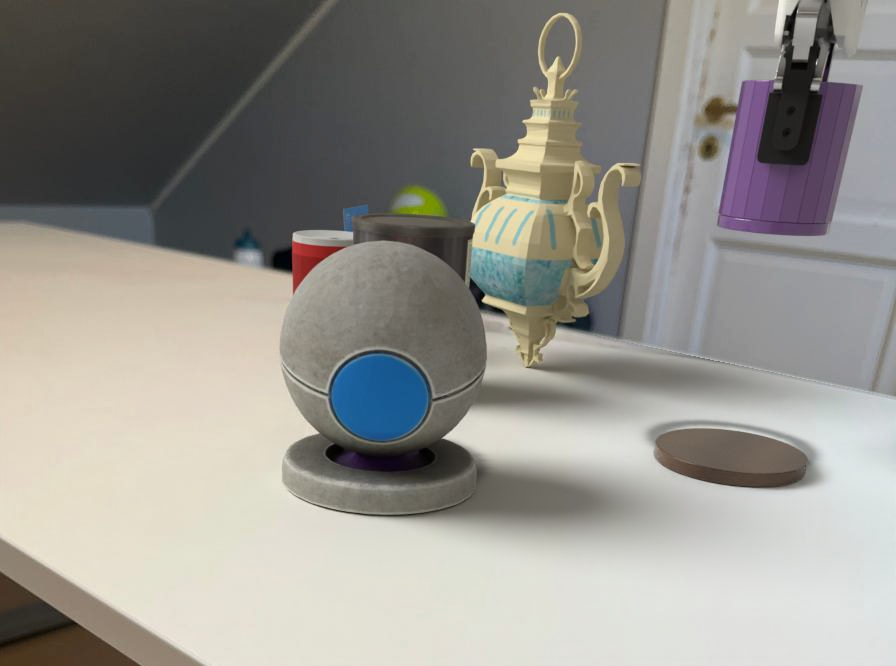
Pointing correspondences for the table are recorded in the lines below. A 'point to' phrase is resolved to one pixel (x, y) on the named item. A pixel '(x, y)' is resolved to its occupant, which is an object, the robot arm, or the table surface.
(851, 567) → the table surface
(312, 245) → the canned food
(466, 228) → the coffee can
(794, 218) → the cup
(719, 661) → the table surface
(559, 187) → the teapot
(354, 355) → the webcam
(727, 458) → the coaster
